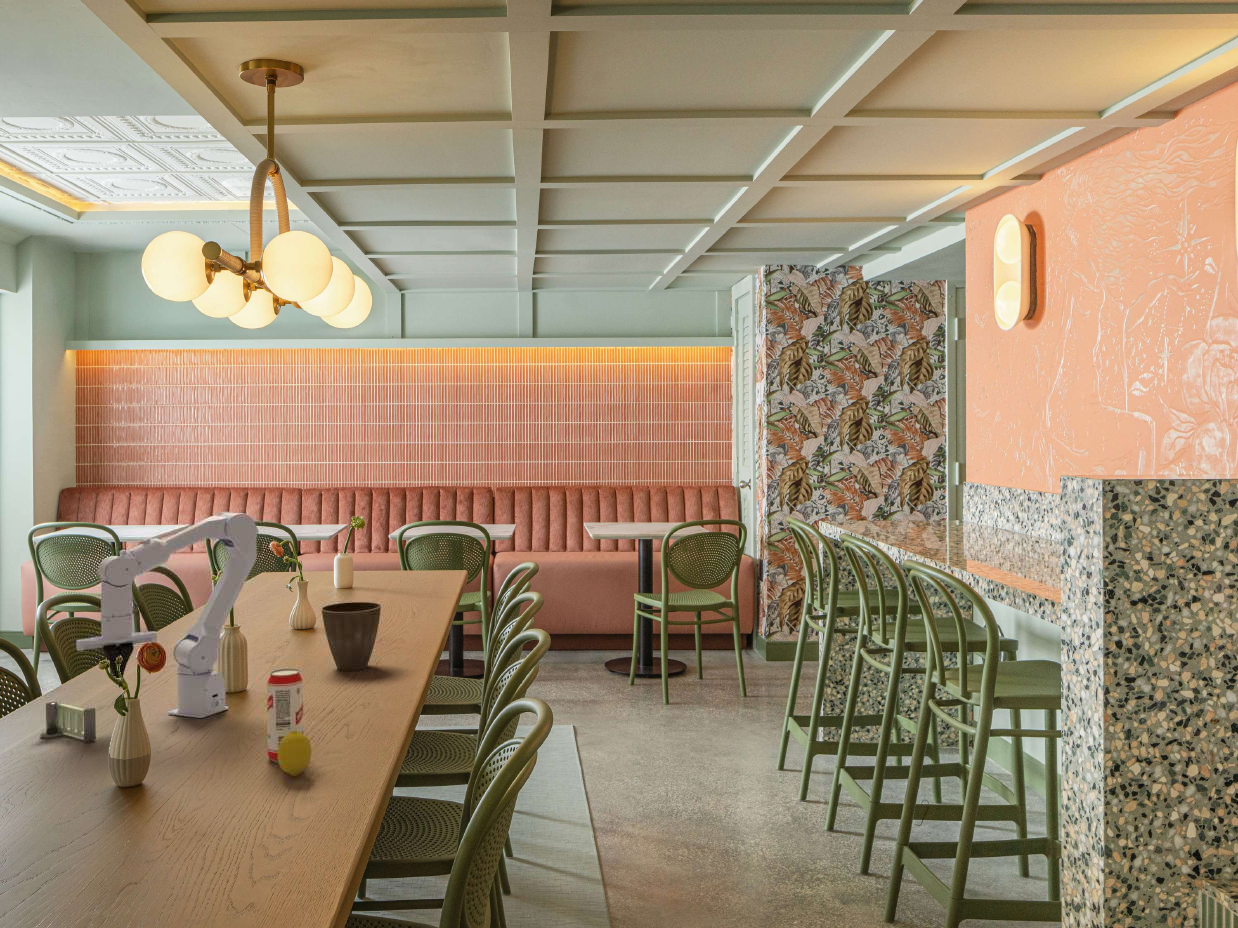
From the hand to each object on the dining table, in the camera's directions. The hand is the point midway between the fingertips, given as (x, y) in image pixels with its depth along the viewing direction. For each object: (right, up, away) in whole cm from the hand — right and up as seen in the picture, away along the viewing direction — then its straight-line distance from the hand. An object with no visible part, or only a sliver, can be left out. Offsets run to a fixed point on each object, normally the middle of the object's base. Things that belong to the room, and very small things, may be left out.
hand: (117, 680), depth 195 cm
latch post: (-10, -10, -6) cm, 15 cm away
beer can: (+42, -10, -21) cm, 48 cm away
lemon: (+47, -10, -30) cm, 56 cm away
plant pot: (+34, -9, +51) cm, 62 cm away
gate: (-5, -9, -7) cm, 13 cm away
